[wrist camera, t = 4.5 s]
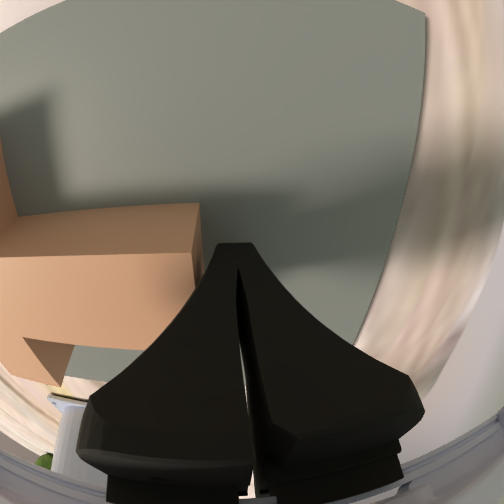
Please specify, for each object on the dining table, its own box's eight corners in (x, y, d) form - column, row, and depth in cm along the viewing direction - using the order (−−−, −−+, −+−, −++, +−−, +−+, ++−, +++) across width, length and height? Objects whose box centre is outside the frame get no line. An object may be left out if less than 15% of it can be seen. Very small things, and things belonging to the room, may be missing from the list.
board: (335, 368, 17) (338, 375, 17) (-40, 341, 14) (-43, 345, 14) (415, 14, 6) (424, 13, 6) (-117, 146, 3) (-121, 149, 3)
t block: (196, 82, 7) (181, 81, 5) (212, 350, 14) (213, 401, 11) (-48, 148, 6) (-90, 174, 4) (27, 337, 13) (11, 374, 10)
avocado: (43, 454, 38) (37, 493, 28) (33, 445, 34) (26, 489, 24) (72, 464, 40) (68, 505, 30) (64, 458, 36) (59, 503, 26)
